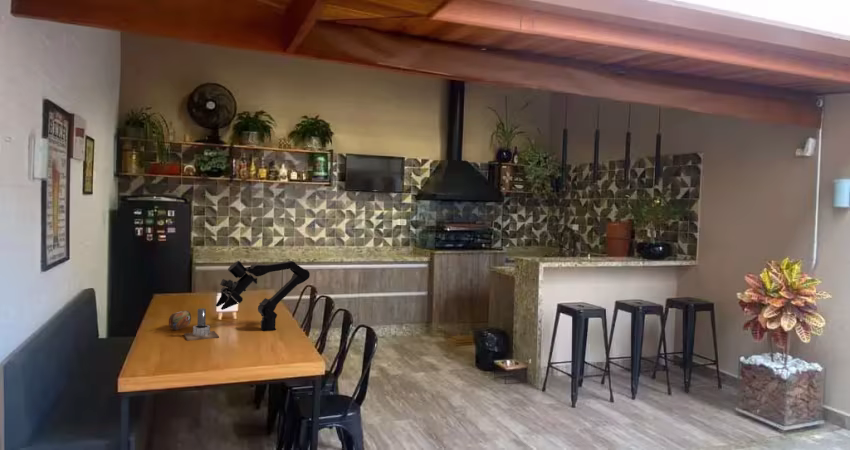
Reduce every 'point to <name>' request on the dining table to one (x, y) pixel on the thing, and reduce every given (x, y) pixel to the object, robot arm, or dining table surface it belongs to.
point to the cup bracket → (201, 331)
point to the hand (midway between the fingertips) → (218, 307)
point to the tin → (179, 320)
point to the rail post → (201, 318)
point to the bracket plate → (190, 337)
